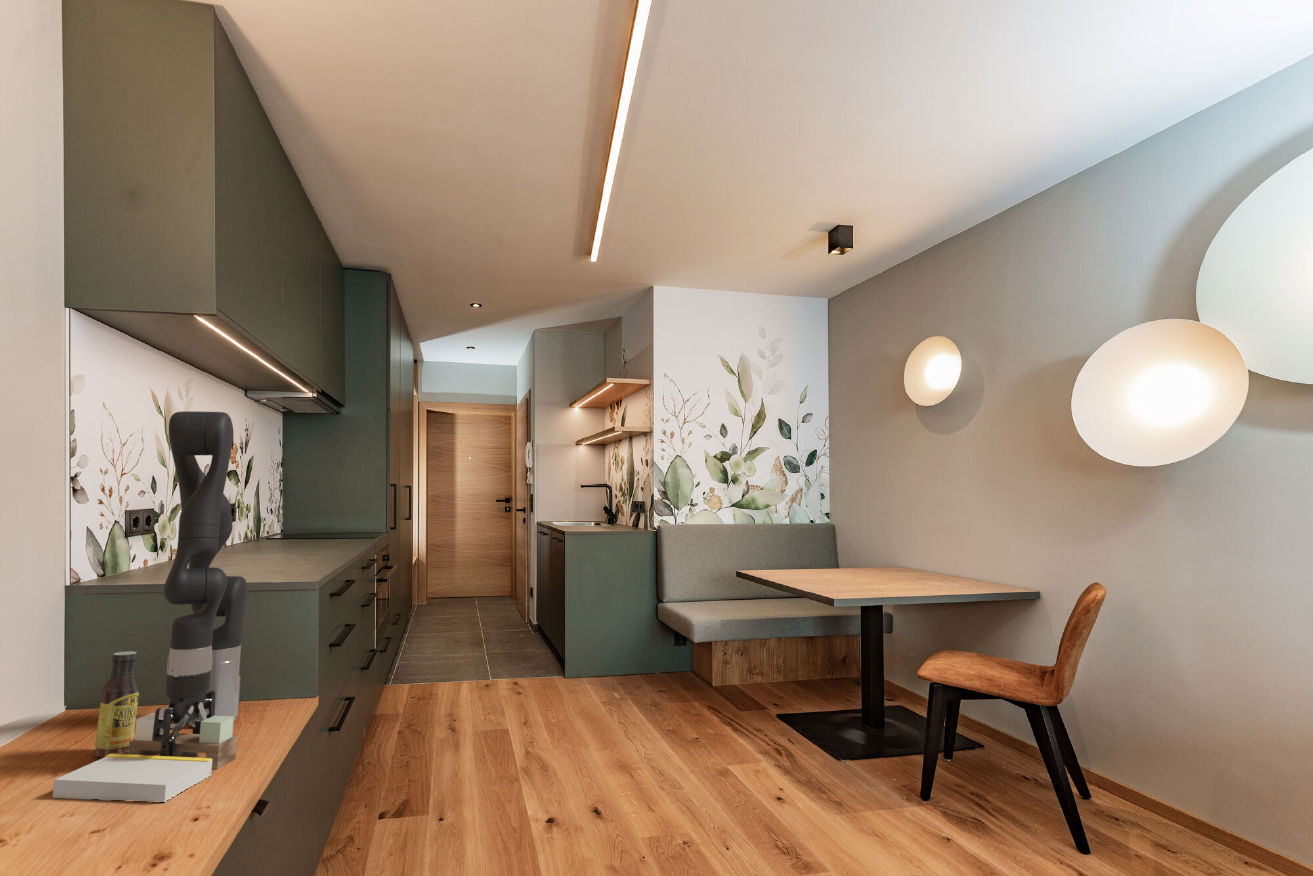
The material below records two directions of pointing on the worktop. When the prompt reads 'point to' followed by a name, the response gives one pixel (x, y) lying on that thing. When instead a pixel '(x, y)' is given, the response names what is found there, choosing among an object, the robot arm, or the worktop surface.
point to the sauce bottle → (118, 707)
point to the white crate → (145, 727)
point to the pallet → (189, 748)
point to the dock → (133, 778)
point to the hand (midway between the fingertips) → (182, 753)
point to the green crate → (216, 729)
